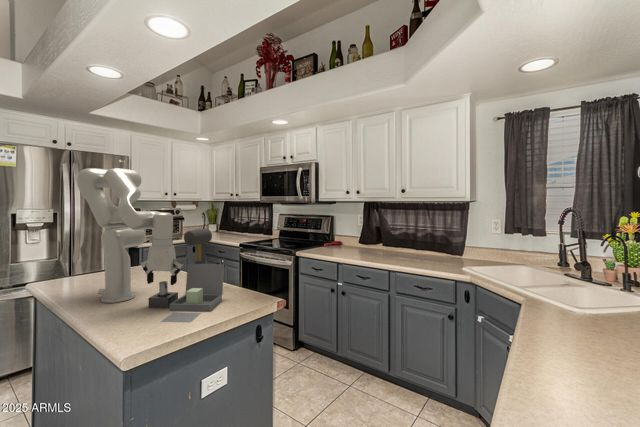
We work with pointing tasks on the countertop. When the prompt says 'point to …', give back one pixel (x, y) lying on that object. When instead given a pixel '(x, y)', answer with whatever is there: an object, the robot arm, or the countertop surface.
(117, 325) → the countertop surface
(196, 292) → the block
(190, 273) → the lid
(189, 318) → the mat
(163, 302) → the square socket block
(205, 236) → the rubber mallet
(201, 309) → the case
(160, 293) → the rod
